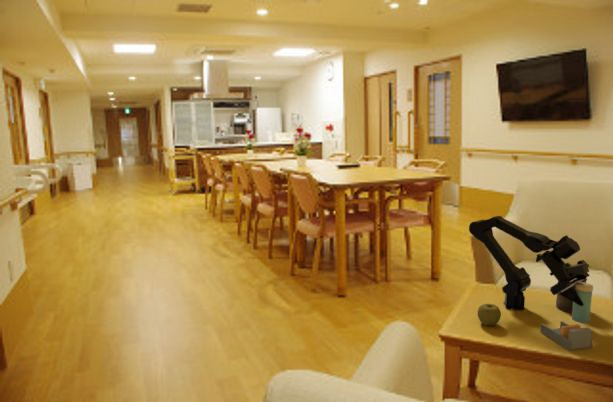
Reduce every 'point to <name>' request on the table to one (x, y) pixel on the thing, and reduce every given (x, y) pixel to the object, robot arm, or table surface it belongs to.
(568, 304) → the pillar candle
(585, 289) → the jar
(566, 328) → the plate
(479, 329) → the table surface
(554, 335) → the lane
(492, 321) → the apple
